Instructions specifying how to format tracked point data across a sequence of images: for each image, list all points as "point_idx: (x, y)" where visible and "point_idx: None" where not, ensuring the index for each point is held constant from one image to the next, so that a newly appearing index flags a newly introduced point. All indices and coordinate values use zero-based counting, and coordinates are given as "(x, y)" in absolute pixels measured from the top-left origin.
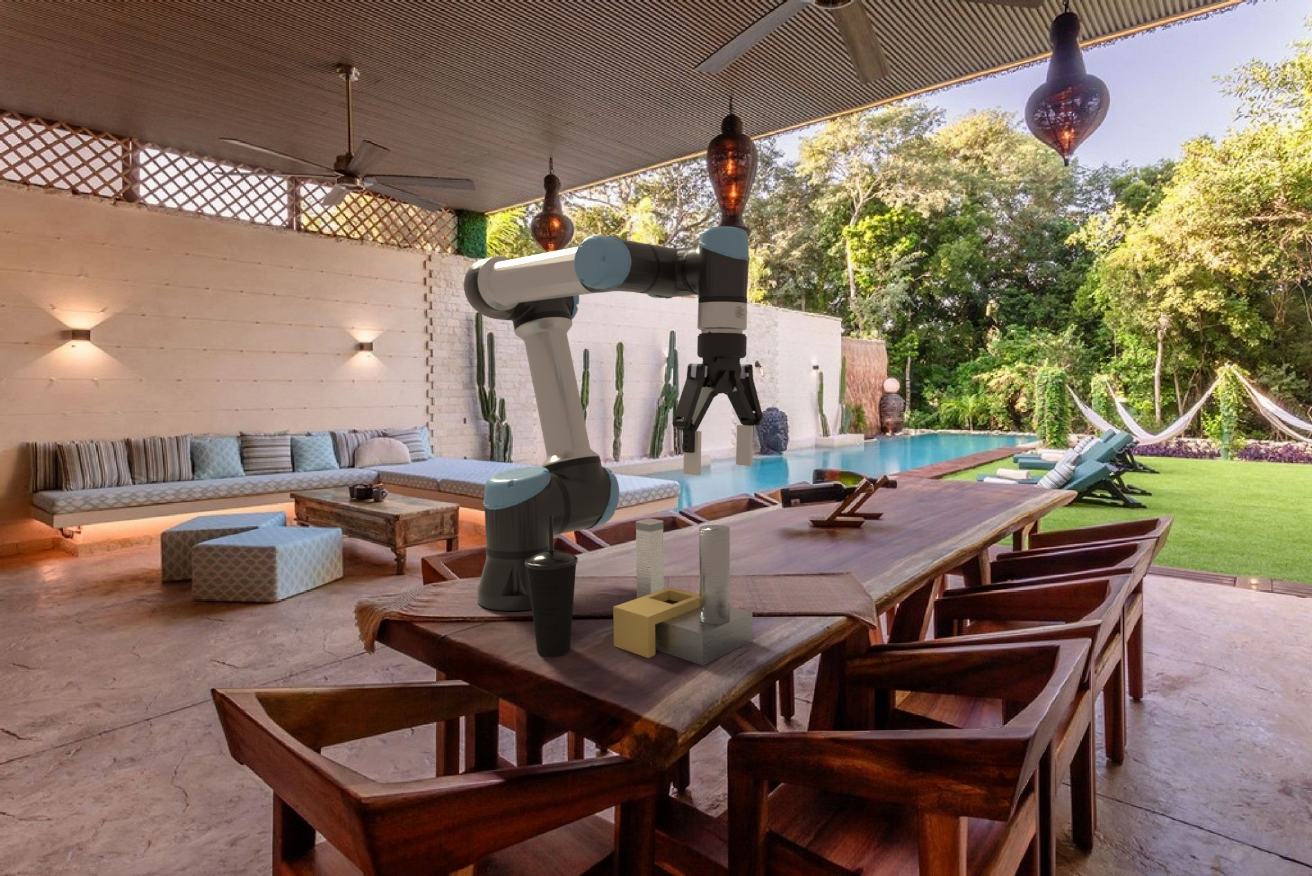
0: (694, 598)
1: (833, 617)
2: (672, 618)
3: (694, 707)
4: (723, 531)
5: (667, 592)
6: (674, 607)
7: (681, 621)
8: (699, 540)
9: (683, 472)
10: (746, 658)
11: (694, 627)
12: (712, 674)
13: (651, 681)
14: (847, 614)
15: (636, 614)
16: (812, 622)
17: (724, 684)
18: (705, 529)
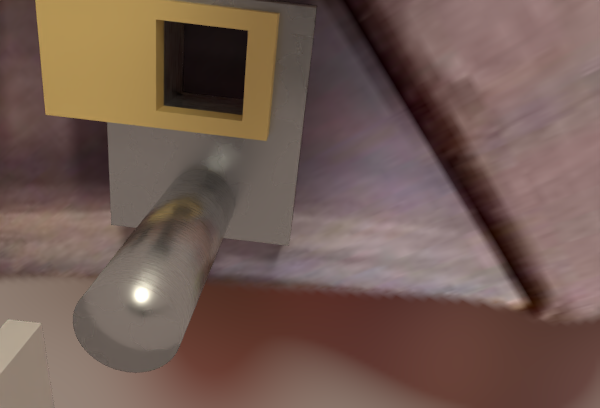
0: (229, 131)
1: (508, 290)
2: None
3: (8, 262)
4: (113, 367)
5: (240, 29)
6: (144, 125)
7: (138, 150)
8: (102, 271)
9: (4, 324)
10: None
11: (129, 193)
12: (118, 229)
13: (21, 161)
14: (540, 305)
15: (42, 75)
16: (458, 268)
17: (101, 261)
18: (85, 318)
